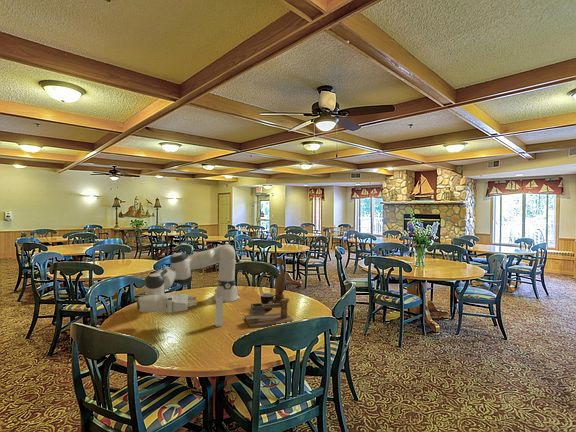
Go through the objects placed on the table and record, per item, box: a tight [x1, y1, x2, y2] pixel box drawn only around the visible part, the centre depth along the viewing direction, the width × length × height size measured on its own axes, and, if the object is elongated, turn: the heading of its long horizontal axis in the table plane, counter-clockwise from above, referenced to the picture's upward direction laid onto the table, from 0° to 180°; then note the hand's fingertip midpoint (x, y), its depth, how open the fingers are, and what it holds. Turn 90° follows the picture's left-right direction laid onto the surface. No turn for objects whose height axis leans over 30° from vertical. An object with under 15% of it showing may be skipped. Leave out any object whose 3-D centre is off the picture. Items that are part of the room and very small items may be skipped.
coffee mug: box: [260, 292, 277, 312], centre depth 214 cm, size 12×9×10 cm
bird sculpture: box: [273, 257, 290, 303], centre depth 231 cm, size 11×12×32 cm
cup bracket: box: [244, 299, 294, 329], centre depth 193 cm, size 16×26×12 cm, turn 107°
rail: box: [214, 296, 224, 328], centre depth 184 cm, size 4×4×16 cm
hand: (196, 300), depth 180 cm, fingers open, 8 cm apart
